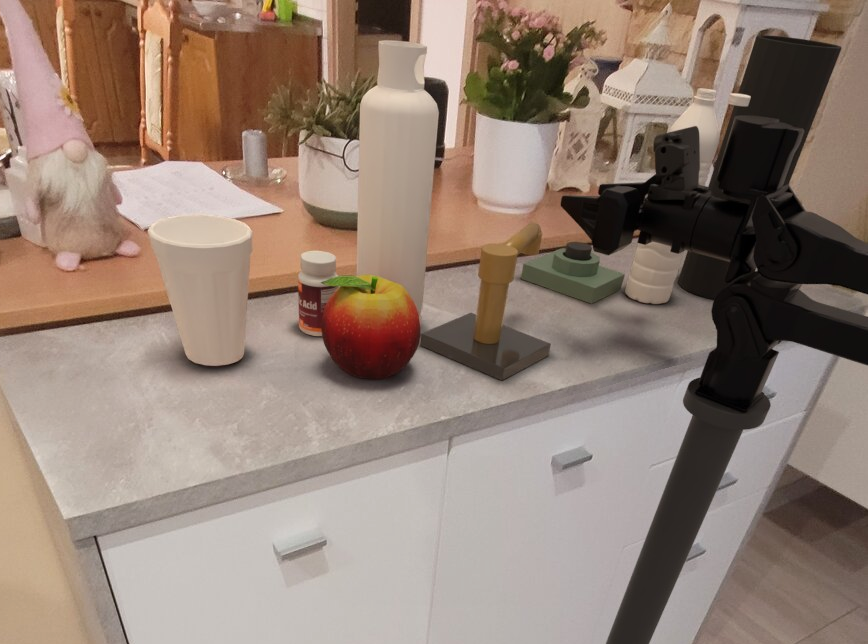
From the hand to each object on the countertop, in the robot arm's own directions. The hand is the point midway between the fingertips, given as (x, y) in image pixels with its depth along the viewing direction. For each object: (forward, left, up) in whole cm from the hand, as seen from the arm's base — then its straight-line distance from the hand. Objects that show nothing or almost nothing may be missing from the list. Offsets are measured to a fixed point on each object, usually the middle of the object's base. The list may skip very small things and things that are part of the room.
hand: (581, 194), depth 87 cm
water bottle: (-6, -17, -15) cm, 23 cm away
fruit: (+6, +31, -15) cm, 35 cm away
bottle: (+12, +21, -15) cm, 28 cm away
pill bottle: (+17, +28, -15) cm, 36 cm away
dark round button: (+5, -12, -11) cm, 17 cm away
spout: (+1, +11, -6) cm, 13 cm away
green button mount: (+5, -12, -15) cm, 20 cm away
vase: (-10, -29, -15) cm, 34 cm away
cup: (+19, +42, -15) cm, 48 cm away
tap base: (0, +17, -15) cm, 22 cm away
